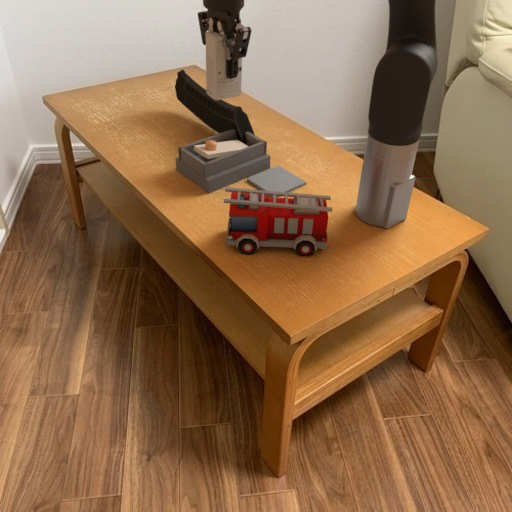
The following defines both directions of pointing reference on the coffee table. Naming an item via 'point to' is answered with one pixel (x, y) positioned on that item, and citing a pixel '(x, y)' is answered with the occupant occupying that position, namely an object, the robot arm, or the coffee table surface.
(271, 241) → the toy fire truck
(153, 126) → the coffee table surface
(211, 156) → the white block with knob
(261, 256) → the coffee table surface
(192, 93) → the magazine
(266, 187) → the slate mat
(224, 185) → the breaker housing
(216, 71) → the skincare box
